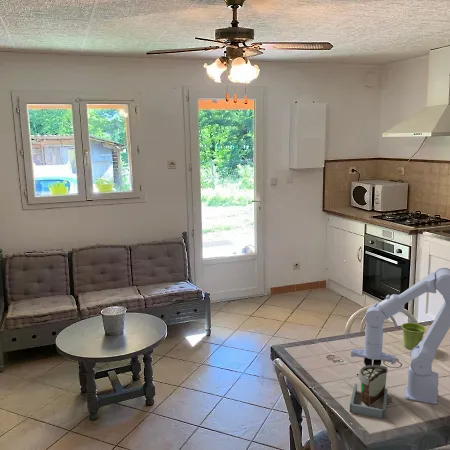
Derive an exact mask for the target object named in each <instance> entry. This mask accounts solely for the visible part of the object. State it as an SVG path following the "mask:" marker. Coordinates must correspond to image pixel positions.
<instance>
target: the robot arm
mask: <svg viewBox="0 0 450 450" xmlns="http://www.w3.org/2000/svg"><path fill="white" fill-rule="evenodd" d="M437 291H438V293H439V294H440V295H441V296H442V298H443V299H444V302H443V304H442V306H441V308H440V309H439V311H438V313H437V314H436V316H435V317H434V320H433V321H432V323H431V325H430V326H429V328H428V330H427V332H426V334H425V335H424V336H423V338H422V341H420V342H419V344H418V345H417V346H416V347H414V348H413V349H412V350H411V349H410V354H409V355H410V365H408V371H407V372H408V373H407V385H406V386H405V399H406V400H410V401H416V402H422V403H428V404H434V405H437V404H438V396H439V373H438V372H436V371H433V370H432V369H433V368H432V367H433V366H432V363H433V362H434V360H435V356H436V353H437V351H438V348H439V347H440V345H441V343H442V342H443V340H444V338H445V337H446V335H447V333H448V331H449V330H450V268H449V267H439V268H438V269H437V270H435V271H433V272H431V273H429V274H428V275H426V276H424V277H423V278H421V280H419V281H417V282H416V283H415V284H412V286H410V287H408V288H407V289H406V290H404V291H403V292H402V293H400V294H396V293H393V294H391V295H390V294H387V295H386V296H385V299H383V300H382V301H379V302H378V303H377V302H375V303H374V304H373V305H372V306H369V307H368V308H367V310H366V311H365V329H364V330H365V331H364V349H352V348H351V350H350V357H352V358H355V357H356V358H358V357H359V358H363V363H364V366H368V365H380V366H382V362H390V363H392V364H396V357H397V356H396V355H393V354H390V353H386V352H383V339H384V329H383V325H384V322H385V320H388V319H390V318H391V317H393V316H395V315H396V314H398V313H400V312H401V311H403V310H405V305H406V304H407V303H409V302H410V301H412V300H414V299H416V298H418V297H419V296H423V294H425V293H431V294H437Z"/></svg>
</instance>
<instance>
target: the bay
mask: <svg viewBox="0 0 450 450" xmlns="http://www.w3.org/2000/svg"><path fill="white" fill-rule="evenodd" d="M357 392H358V383H354V385H353V390H352V394H351V397H350V401H349V412H350V413H354V414H360V415H365V416H370V417H373V418H374V417H375V418H380V419H386V410H387V402H388V388H385V394H384V397H383V403H382V408H377V407H372V406H370V407H369V406H367V405H362V404H356V403H355V401H356V398H357Z"/></svg>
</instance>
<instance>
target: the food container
mask: <svg viewBox="0 0 450 450" xmlns="http://www.w3.org/2000/svg"><path fill="white" fill-rule="evenodd" d="M388 372H389V371H388V367H387V366H384V365H373V364H372V365H368V366H365V365H364V366H363V367H361V369H360V370H359V373H358V379H359V381H360V391H361V393H360V394H361V402H362V403H363V404H364V406H367V407H372V406H373V405H374V404H376V403H377V402H379V400H381V399H382V398H384V394H385V389H386V383H387V374H388Z"/></svg>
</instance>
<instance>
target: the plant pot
mask: <svg viewBox="0 0 450 450" xmlns="http://www.w3.org/2000/svg"><path fill="white" fill-rule="evenodd" d="M401 328H402V332H403V333H402V334H403V342H404V343H403V345H404V347H405V348H406V349H408V350H410V351H411V350H412V349H413V348H414V347H416V346H417V345H418V344H419V342H420V341H422V340H423V339H424V334H425V332H426V331H427V328H426V327H425V326H424V325H422V324H419V323H415V322H405V323H404V322H403V324H401Z"/></svg>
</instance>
